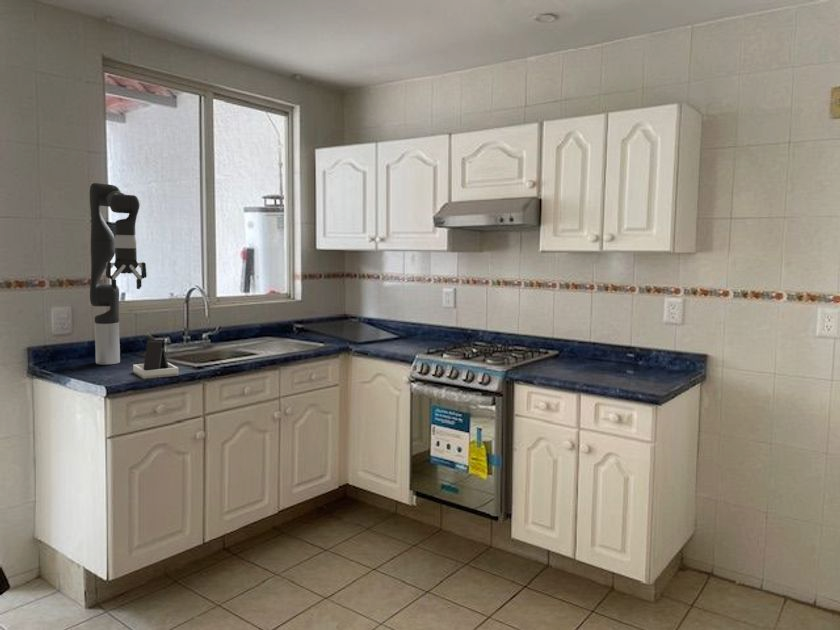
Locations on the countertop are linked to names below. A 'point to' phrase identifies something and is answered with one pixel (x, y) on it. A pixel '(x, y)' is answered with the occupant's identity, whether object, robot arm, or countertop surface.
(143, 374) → the tray
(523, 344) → the countertop surface
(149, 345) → the dark tent sign
